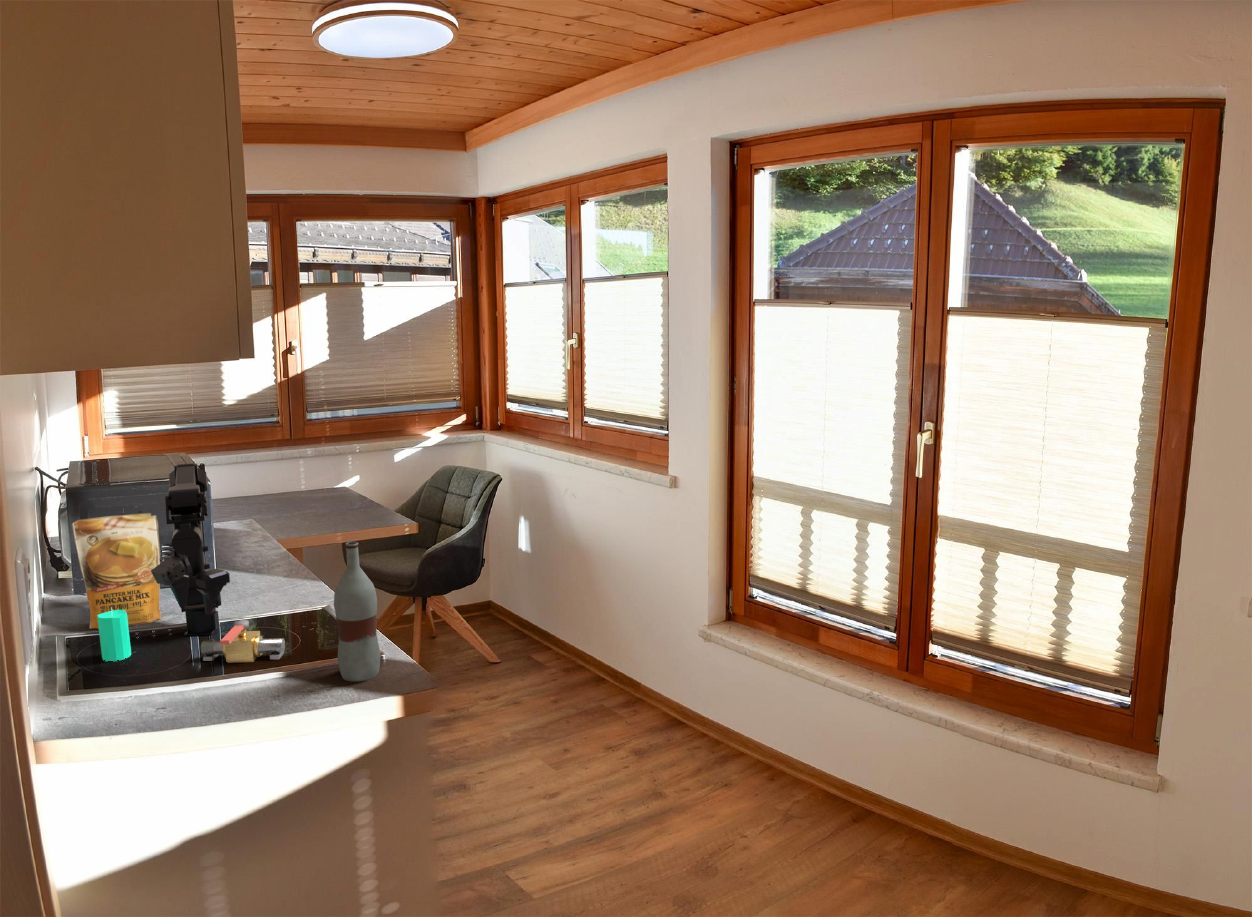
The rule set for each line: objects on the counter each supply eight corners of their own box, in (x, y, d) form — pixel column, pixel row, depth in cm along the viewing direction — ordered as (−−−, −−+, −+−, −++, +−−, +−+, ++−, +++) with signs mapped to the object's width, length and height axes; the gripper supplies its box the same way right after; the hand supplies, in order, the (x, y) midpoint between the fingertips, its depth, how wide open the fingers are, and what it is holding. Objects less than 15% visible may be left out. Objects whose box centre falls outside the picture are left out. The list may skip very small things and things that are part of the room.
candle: (102, 663, 217) (96, 613, 215) (102, 654, 222) (96, 605, 220) (131, 658, 220) (125, 609, 217) (131, 649, 225) (125, 601, 223)
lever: (236, 625, 220) (236, 620, 220) (250, 624, 220) (250, 619, 220) (217, 645, 208) (217, 640, 207) (232, 644, 208) (232, 639, 208)
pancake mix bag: (85, 624, 242) (72, 517, 237) (167, 613, 250) (157, 509, 245) (82, 633, 236) (69, 524, 231) (167, 621, 244) (156, 515, 239)
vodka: (382, 679, 207) (374, 546, 201) (338, 685, 204) (329, 550, 198) (380, 663, 215) (373, 535, 210) (338, 668, 213) (329, 539, 207)
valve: (199, 663, 216) (196, 634, 215) (209, 653, 222) (206, 625, 221) (280, 661, 217) (277, 632, 216) (287, 650, 223) (285, 622, 222)
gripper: (129, 547, 209) (136, 614, 212) (183, 558, 200) (190, 628, 203) (175, 535, 218) (181, 600, 221) (228, 545, 209) (234, 613, 212)
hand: (195, 610), depth 214 cm, fingers open, 9 cm apart
